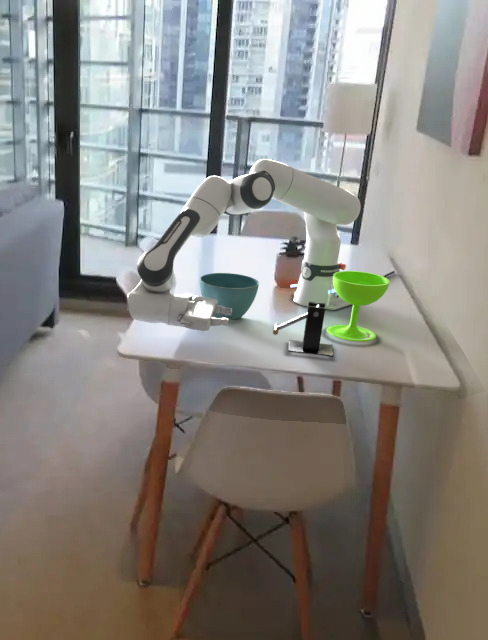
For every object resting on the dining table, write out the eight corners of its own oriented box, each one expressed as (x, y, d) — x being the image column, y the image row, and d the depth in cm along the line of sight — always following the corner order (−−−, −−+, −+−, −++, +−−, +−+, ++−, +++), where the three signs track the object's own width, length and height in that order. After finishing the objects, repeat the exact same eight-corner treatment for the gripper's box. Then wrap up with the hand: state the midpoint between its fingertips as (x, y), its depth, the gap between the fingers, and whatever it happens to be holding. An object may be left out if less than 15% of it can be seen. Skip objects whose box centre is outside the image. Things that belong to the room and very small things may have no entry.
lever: (275, 337, 199) (271, 329, 199) (275, 330, 205) (272, 323, 204) (322, 316, 194) (319, 308, 194) (322, 309, 200) (318, 302, 199)
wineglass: (346, 348, 206) (357, 287, 199) (312, 330, 219) (321, 272, 212) (390, 342, 212) (401, 283, 205) (354, 325, 225) (364, 269, 218)
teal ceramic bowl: (186, 311, 231) (189, 274, 226) (235, 306, 238) (239, 270, 233) (214, 329, 216) (218, 290, 211) (265, 324, 222) (270, 286, 218)
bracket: (287, 354, 199) (294, 307, 194) (288, 343, 207) (295, 298, 202) (332, 360, 197) (340, 312, 191) (331, 348, 205) (338, 302, 199)
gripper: (176, 311, 195) (227, 317, 193) (188, 291, 214) (234, 296, 211) (174, 333, 198) (224, 339, 195) (186, 311, 216) (232, 316, 214)
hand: (229, 316), depth 203 cm, fingers open, 8 cm apart
